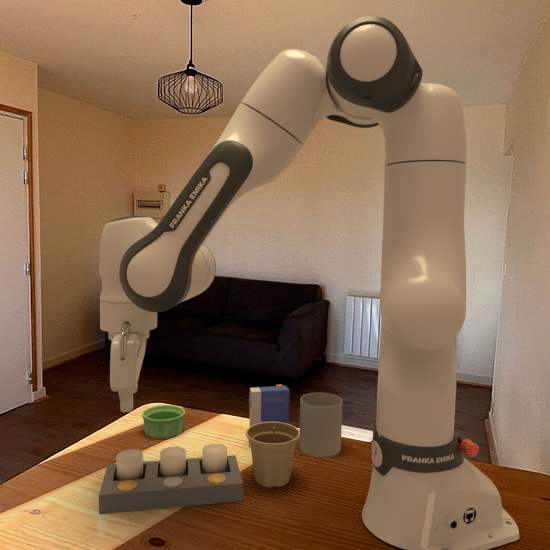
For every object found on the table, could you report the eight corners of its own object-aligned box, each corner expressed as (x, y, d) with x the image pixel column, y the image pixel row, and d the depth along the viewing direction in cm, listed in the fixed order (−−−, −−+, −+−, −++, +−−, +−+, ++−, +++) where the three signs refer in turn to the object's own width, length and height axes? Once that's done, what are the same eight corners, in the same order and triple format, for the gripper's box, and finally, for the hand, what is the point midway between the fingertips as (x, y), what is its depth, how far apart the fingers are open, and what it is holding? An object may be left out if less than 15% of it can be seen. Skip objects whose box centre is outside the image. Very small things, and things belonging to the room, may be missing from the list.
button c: (143, 467, 84) (143, 448, 84) (142, 479, 80) (142, 459, 80) (118, 469, 83) (118, 450, 83) (115, 482, 79) (115, 461, 79)
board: (235, 471, 89) (235, 454, 88) (242, 500, 79) (243, 481, 79) (107, 481, 84) (107, 463, 84) (98, 514, 75) (98, 493, 74)
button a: (225, 461, 87) (225, 443, 86) (228, 473, 83) (228, 453, 82) (201, 463, 86) (201, 444, 86) (203, 475, 82) (203, 455, 81)
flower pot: (294, 497, 80) (295, 446, 80) (238, 490, 82) (239, 440, 82) (302, 470, 90) (303, 424, 89) (252, 464, 92) (253, 419, 91)
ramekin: (174, 443, 100) (174, 422, 100) (134, 437, 102) (134, 417, 102) (191, 426, 109) (191, 407, 109) (154, 421, 111) (154, 402, 111)
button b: (185, 464, 85) (185, 445, 85) (185, 476, 81) (186, 456, 81) (160, 466, 84) (160, 447, 84) (159, 478, 80) (159, 458, 80)
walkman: (284, 440, 102) (285, 383, 101) (288, 445, 100) (289, 388, 99) (247, 443, 101) (248, 386, 99) (250, 449, 98) (251, 390, 97)
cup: (295, 453, 96) (296, 404, 95) (302, 437, 104) (304, 391, 103) (338, 459, 94) (340, 408, 93) (342, 441, 102) (344, 395, 101)
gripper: (145, 329, 70) (145, 424, 71) (152, 307, 90) (152, 381, 91) (98, 330, 68) (99, 426, 70) (116, 307, 88) (116, 382, 90)
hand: (129, 400), depth 80 cm, fingers open, 7 cm apart
